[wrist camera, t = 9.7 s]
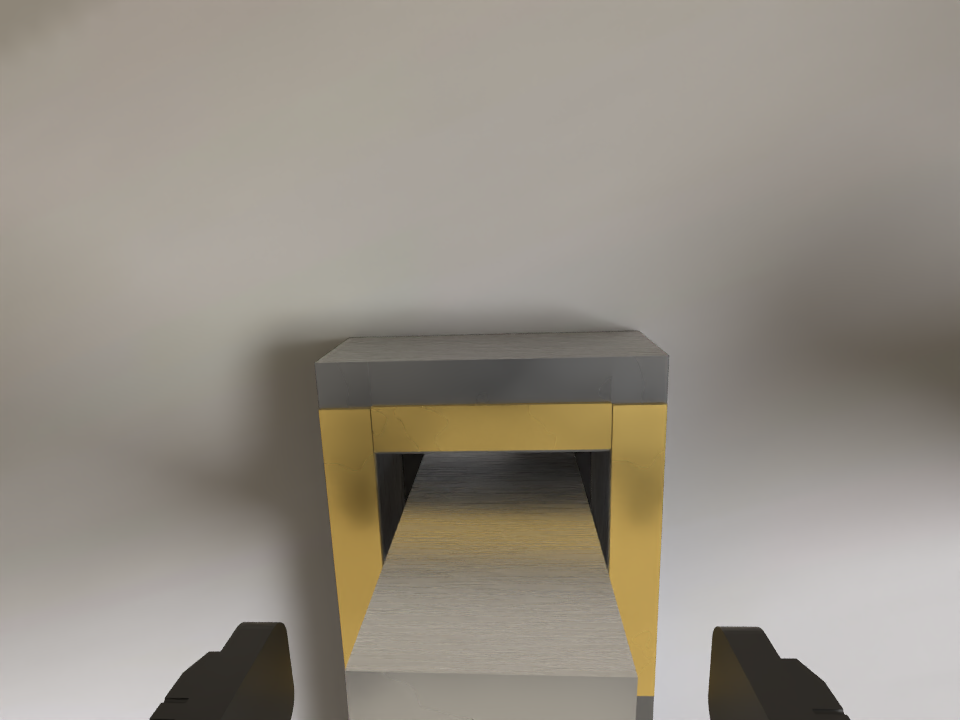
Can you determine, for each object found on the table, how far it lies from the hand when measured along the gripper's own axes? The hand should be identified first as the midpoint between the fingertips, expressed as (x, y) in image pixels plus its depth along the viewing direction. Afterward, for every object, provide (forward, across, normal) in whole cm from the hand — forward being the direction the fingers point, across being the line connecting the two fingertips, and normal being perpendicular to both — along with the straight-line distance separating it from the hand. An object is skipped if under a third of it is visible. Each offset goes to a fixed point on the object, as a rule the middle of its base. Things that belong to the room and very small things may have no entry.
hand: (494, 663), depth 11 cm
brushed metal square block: (+6, 0, 0) cm, 6 cm away
